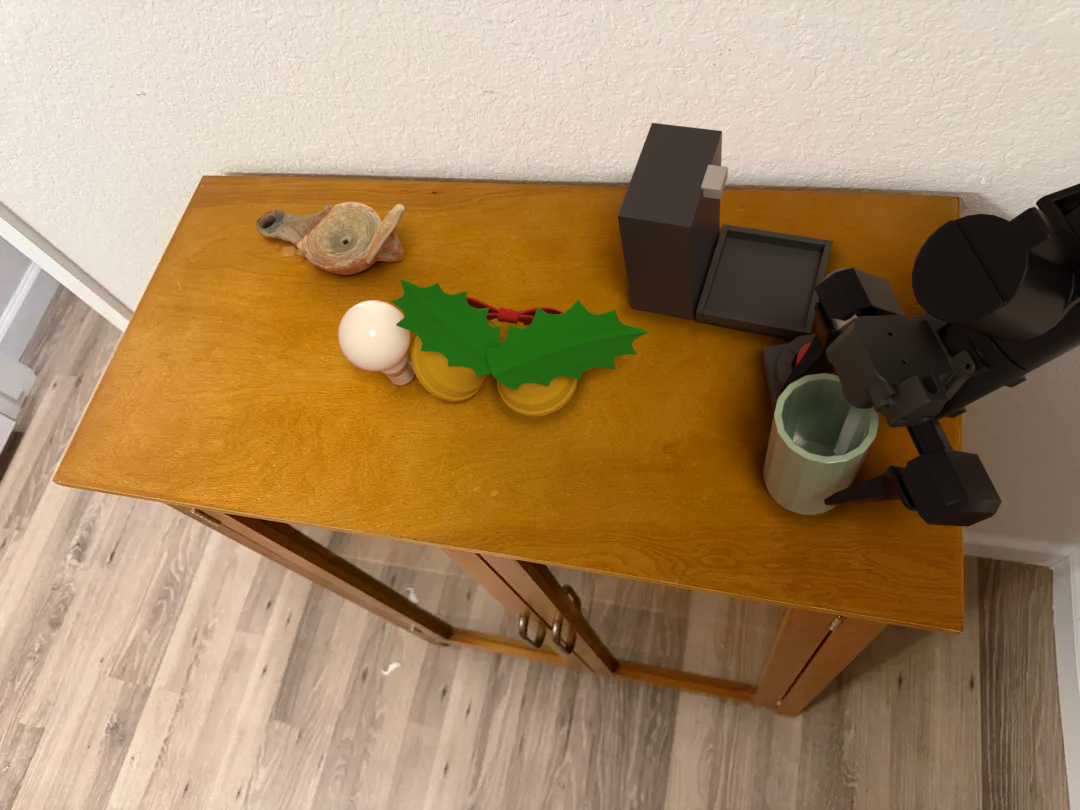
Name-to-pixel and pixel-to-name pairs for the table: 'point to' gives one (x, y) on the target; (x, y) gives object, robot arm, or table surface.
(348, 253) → the oil lamp
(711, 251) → the coffee maker
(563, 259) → the table surface
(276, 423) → the table surface
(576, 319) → the ornament
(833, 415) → the cup
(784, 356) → the button block
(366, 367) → the lightbulb
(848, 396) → the robot arm
